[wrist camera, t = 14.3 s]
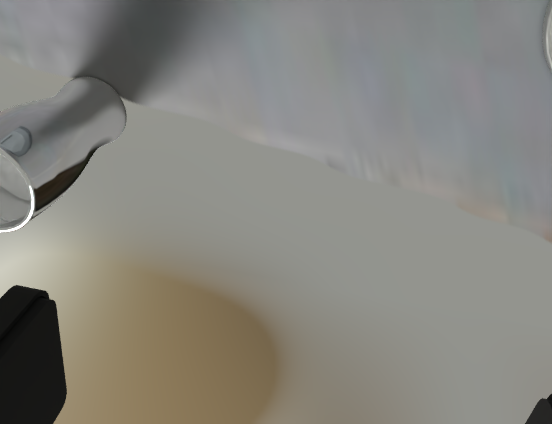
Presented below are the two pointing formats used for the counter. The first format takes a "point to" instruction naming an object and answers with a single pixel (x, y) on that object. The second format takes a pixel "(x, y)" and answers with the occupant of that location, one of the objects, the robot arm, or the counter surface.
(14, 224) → the beer glass
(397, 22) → the counter surface
